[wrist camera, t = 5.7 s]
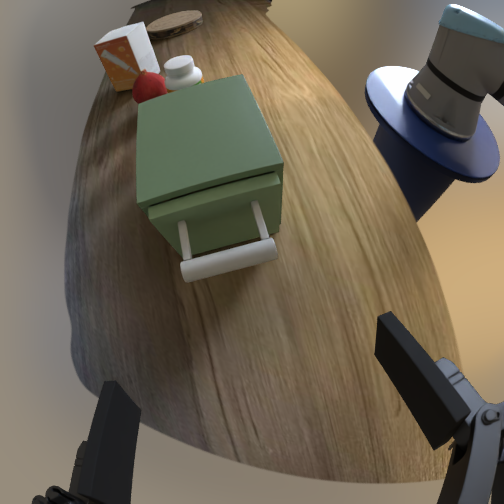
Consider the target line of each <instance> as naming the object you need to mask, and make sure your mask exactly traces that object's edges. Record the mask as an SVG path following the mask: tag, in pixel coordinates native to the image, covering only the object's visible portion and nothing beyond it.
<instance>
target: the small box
mask: <svg viewBox="0 0 504 504" xmlns="http://www.w3.org/2000/svg"><path fill="white" fill-rule="evenodd" d="M94 47H95V49H96V51H97V53H98V55H99V58H100V60H101V62H102V64H103V66H104V68H105V70H106V72H107V74H108V76H109V78H110V80H111V82H112V84H113V86H114V88H115V90H116V92H118V91H123V90H129V89H133V84H134V82H135V80H136V78H137V77H138V76H139V74H140V73H141V71H142V70H143V69H146V71H147V72H154V73H157V74H158V73H159V72H160V68H159V65H158V63H157V60H156V57H155V54H154V51H153V48H152V46H151V43H150V40H149V37H148V34H147V31H146V28H145V25H144V22H140V23H137V24H133V25H128V26H125V27H122V28H119V29H116V30H113V31H110V32H109V33H107V34H106V35H105V36H104V37H103V38H101V39H100V40H99V41H98V42H97V43H96V44H95V45H94Z"/></svg>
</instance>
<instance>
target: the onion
mask: <svg viewBox="0 0 504 504" xmlns="http://www.w3.org/2000/svg"><path fill="white" fill-rule="evenodd" d="M165 94H167V89H166V86H165V79H164V78H163V77H162V76H161V75H159V74H157V73H154V72H147V71H146V69H143V70H142V71H141V73H140V74H139V76H138V77H137V78H136V80H135V82H134V84H133V89H132V95H133V98H134V100H135V101H136V102H137V103H138V104H139V103H142V102H145V101H147V100H150V99H153V98H156V97H159V96H162V95H165Z"/></svg>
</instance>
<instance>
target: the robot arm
mask: <svg viewBox="0 0 504 504" xmlns="http://www.w3.org/2000/svg"><path fill="white" fill-rule="evenodd" d="M439 24H440V25H439V29H438V32H437V35H436V37H435V41H434V43H433V46H432V49H431V51H430V54H429V57H428V60H427V63H426V65H425V66H424V67H423V68H422V69H421V70H420V71H419V72H418V73H417V74H416V76H415V77H414V78H413V79H412V80H411V81H410V82H409V83H408V84H407V87H406V90H405V93H404V96H405V100H406V102H407V104H408V106H409V107H410V109H411V110H412V111H413V112H414V113H415V115H416V116H417V117H418V118H419V119H420V120H422V121H423V122H424V123H425V124H426V125H428V126H429V127H430V128H432V129H433V130H434V131H436V132H438V133H439V134H441V135H443V136H445V137H447V138H449V139H451V140H454V141H458V142H467V141H469V140H470V139H471V138H472V136H473V135H474V133H475V132H476V128H477V123H478V118H479V112H480V107H481V103H482V101H483V99H484V98H485V96H486V94H487V93H488V94H490V95H491V96H492V97H494V98H495V99H496V100H497V101H498V102H500V103H501V104H502V105H503V106H504V29H503V28H502V27H500V26H498V25H497V24H495V23H494V22H492V21H490V20H489V19H487V18H485V17H483V16H481V15H479V14H477V13H475V12H473V11H471V10H469V9H466V8H464V7H461V6H458V5H448V6H446V8H445V10H444V12H443V15H442V18H441V20H440V21H439ZM374 355H375V356H376V358H377V359H378V361H379V362H380V364H381V365H382V367H383V369H384V370H385V372H386V373H387V375H388V376H389V378H390V379H391V381H392V383H393V384H394V386H395V387H396V389H397V390H398V392H399V394H400V395H401V397H402V398H403V400H404V402H405V403H406V405H407V406H408V408H409V410H410V411H411V413H412V415H413V416H414V418H415V420H416V421H417V423H418V425H419V426H420V428H421V430H422V431H423V433H424V435H425V436H426V438H427V440H428V442H429V443H430V445H431V447H432V449H433V450H436V449H438V448H439V447H441V446H442V445H444V444H445V443H447V442H448V441H449V440H450V439H451V437H452V436H453V438H454V439H455V440H454V441H453V442H452V444H451V445H450V446H449V448H448V450H451V448H452V447H453V449H452V454H451V458H450V462H449V466H448V470H447V473H446V477H445V480H444V484H443V487H442V490H441V493H440V496H439V499H438V502H437V504H488V502H489V498H490V495H491V491H492V496H491V504H504V402H501V403H499V404H492V403H487V402H485V401H484V400H483V399H482V398H481V396H480V395H479V394H478V392H477V391H476V390H475V389H474V387H473V386H472V385H471V384H470V382H469V381H468V380H467V379H466V378H465V376H464V375H463V374H462V373H461V372H460V370H459V369H458V368H457V367H456V365H455V364H454V363H453V362H451V361H450V360H448V359H446V358H444V357H443V358H441V359H440V360H438V361H436V362H434V361H433V360H432V359H431V357H430V356H429V355H428V354H427V353H426V351H425V350H424V349H423V348H422V347H421V345H420V344H419V343H418V342H417V341H416V339H415V338H414V337H413V336H412V335H411V334H410V332H409V331H408V330H407V329H406V328H405V327H404V325H403V324H402V323H401V322H400V321H399V320H398V319H397V317H396V316H395V315H394V314H393V313H392V312H391V311H390V312H387V313H385V314H382V315H380V316H378V317H377V332H376V343H375V353H374ZM140 416H141V409H140V408H139V407H138V406H137V405H136V404H135V403H134V402H133V400H132V399H131V398H130V397H129V396H128V395H127V393H126V392H125V391H124V390H123V389H122V387H121V386H120V385H119V384H118V383H117V381H116V380H115V381H104V384H103V387H102V390H101V394H100V397H99V400H98V404H97V407H96V410H95V414H94V418H93V421H92V425H91V429H90V433H89V436H88V440H87V441H83V442H82V443H81V445H80V446H79V448H78V451H77V455H76V460H75V466H74V468H73V473H72V478H71V483H70V488H69V492H67V491H65V490H63V489H62V488H60V487H58V486H51V487H49V489H47V491H46V495H45V496H46V497H43V496H41V495H37V496H35V497H34V498H33V501H32V504H131V503H130V502H131V489H132V478H133V468H134V459H135V450H136V443H137V436H138V429H139V423H140Z"/></svg>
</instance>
